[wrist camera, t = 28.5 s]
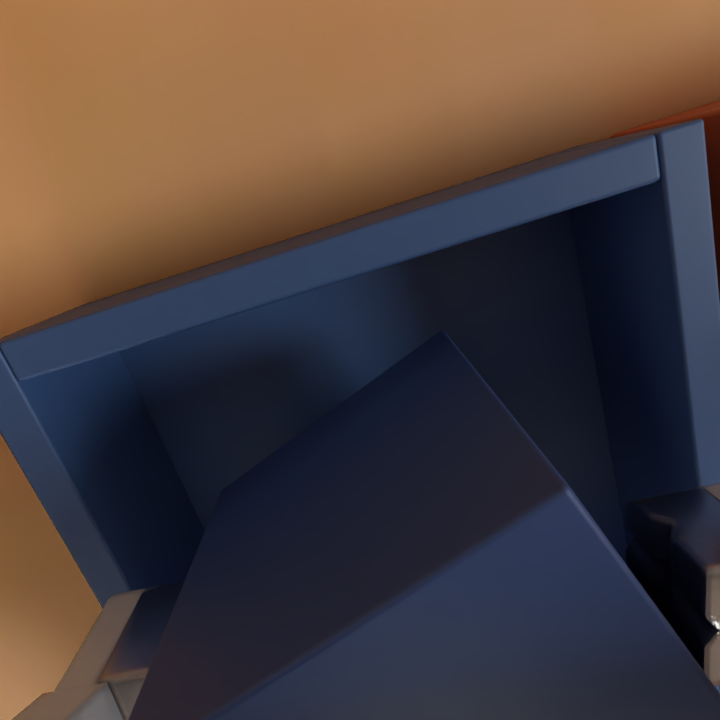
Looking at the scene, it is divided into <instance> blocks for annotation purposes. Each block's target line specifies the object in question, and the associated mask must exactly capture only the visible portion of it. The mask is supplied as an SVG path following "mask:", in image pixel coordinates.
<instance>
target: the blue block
mask: <svg viewBox="0 0 720 720" xmlns="http://www.w3.org/2000/svg"><path fill="white" fill-rule="evenodd" d="M128 720H720V693H719V691H718V690H717V689H716V687H715V686H714V685H713V683H712V682H711V680H710V679H709V678H708V676H707V675H706V674H705V672H704V671H703V669H702V668H701V667H700V665H699V664H698V663H697V661H696V660H695V658H694V657H693V656H692V654H691V653H690V652H689V650H688V649H687V647H686V646H685V645H684V643H683V642H682V640H681V639H680V638H679V636H678V635H677V634H676V632H675V631H674V629H673V628H672V627H671V625H670V624H669V623H668V621H667V620H666V618H665V617H664V616H663V614H662V613H661V612H660V610H659V609H658V607H657V606H656V605H655V603H654V602H653V601H652V599H651V598H650V596H649V595H648V594H647V592H646V591H645V589H644V588H643V587H642V585H641V584H640V583H639V581H638V580H637V578H636V577H635V576H634V574H633V573H632V572H631V570H630V569H629V567H628V566H627V565H626V563H625V562H624V561H623V559H622V558H621V556H620V555H619V554H618V552H617V551H616V550H615V548H614V547H613V545H612V544H611V543H610V541H609V540H608V538H607V537H606V536H605V534H604V533H603V532H602V530H601V529H600V527H599V526H598V525H597V523H596V522H595V521H594V519H593V518H592V516H591V515H590V514H589V512H588V511H587V510H586V508H585V507H584V505H583V504H582V503H581V501H580V500H579V498H578V497H577V496H576V494H575V493H574V492H573V490H572V489H571V487H570V486H569V485H568V484H567V482H566V481H565V480H564V479H563V478H562V476H561V475H560V474H559V473H558V471H557V470H556V469H555V468H554V466H553V465H552V464H551V463H550V461H549V460H548V459H547V458H546V456H545V455H544V454H543V453H542V451H541V450H540V449H539V448H538V446H537V445H536V444H535V443H534V441H533V440H532V439H531V438H530V436H529V435H528V434H527V433H526V432H525V430H524V429H523V428H522V427H521V425H520V424H519V423H518V422H517V420H516V419H515V418H514V417H513V415H512V414H511V413H510V412H509V410H508V409H507V408H506V407H505V405H504V404H503V403H502V402H501V400H500V399H499V398H498V397H497V395H496V394H495V393H494V392H493V391H492V389H491V388H490V387H489V386H488V384H487V383H486V382H485V381H484V379H483V378H482V377H481V376H480V374H479V373H478V372H477V371H476V369H475V368H474V367H473V366H472V364H471V363H470V362H469V361H468V359H467V358H466V357H465V356H464V354H463V353H462V352H461V351H460V350H459V348H458V347H457V346H456V345H455V343H454V342H453V341H452V340H451V338H450V337H449V336H448V335H447V333H446V332H445V331H440V332H438V333H437V334H435V335H434V336H433V337H431V338H430V339H429V340H427V341H426V342H424V343H423V344H422V345H420V346H419V347H418V348H416V349H415V350H413V351H412V352H411V353H409V354H408V355H407V356H405V357H404V358H402V359H401V360H400V361H398V362H397V363H396V364H394V365H393V366H391V367H390V368H389V369H387V370H386V371H385V372H383V373H382V374H381V375H379V376H378V377H376V378H375V379H374V380H372V381H371V382H370V383H368V384H367V385H365V386H364V387H363V388H361V389H360V390H359V391H357V392H356V393H354V394H353V395H352V396H350V397H349V398H348V399H346V400H345V401H343V402H342V403H341V404H339V405H338V406H337V407H335V408H334V409H332V410H331V411H330V412H328V413H327V414H326V415H324V416H323V417H321V418H320V419H319V420H317V421H316V422H315V423H313V424H312V425H310V426H309V427H308V428H306V429H305V430H304V431H302V432H301V433H299V434H298V435H297V436H295V437H294V438H293V439H291V440H290V441H289V442H287V443H286V444H284V445H283V446H282V447H280V448H279V449H278V450H276V451H275V452H273V453H272V454H271V455H269V456H268V457H267V458H265V459H264V460H262V461H261V462H260V463H258V464H257V465H256V466H254V467H253V468H251V469H250V470H249V471H247V472H246V473H245V474H243V475H242V476H240V477H239V478H238V479H236V480H235V481H234V482H232V483H231V484H229V485H228V486H227V487H225V488H224V489H223V490H222V491H221V493H220V495H219V498H218V500H217V503H216V505H215V508H214V510H213V513H212V515H211V518H210V520H209V523H208V525H207V527H206V530H205V532H204V535H203V537H202V540H201V542H200V545H199V547H198V550H197V552H196V554H195V557H194V559H193V562H192V564H191V567H190V569H189V572H188V574H187V577H186V579H185V582H184V584H183V586H182V589H181V591H180V594H179V596H178V599H177V601H176V604H175V606H174V609H173V611H172V613H171V616H170V618H169V621H168V623H167V626H166V628H165V631H164V633H163V636H162V638H161V641H160V643H159V645H158V648H157V650H156V653H155V655H154V658H153V660H152V663H151V665H150V668H149V670H148V672H147V675H146V677H145V680H144V682H143V685H142V687H141V690H140V692H139V695H138V697H137V700H136V702H135V704H134V707H133V709H132V712H131V714H130V717H129V719H128Z"/></svg>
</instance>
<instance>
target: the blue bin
mask: <svg viewBox="0 0 720 720" xmlns="http://www.w3.org/2000/svg"><path fill="white" fill-rule="evenodd" d="M440 331H445V332H446V333H447V335H448V336H449V337H450V338H451V340H452V341H453V342H454V343H455V345H456V346H457V347H458V348H459V350H460V351H461V352H462V353H463V354H464V356H465V357H466V358H467V359H468V361H469V362H470V363H471V364H472V366H473V367H474V368H475V369H476V371H477V372H478V373H479V374H480V376H481V377H482V378H483V379H484V381H485V382H486V383H487V384H488V386H489V387H490V388H491V389H492V391H493V392H494V393H495V394H496V395H497V397H498V398H499V399H500V400H501V402H502V403H503V404H504V405H505V407H506V408H507V409H508V410H509V412H510V413H511V414H512V415H513V417H514V418H515V419H516V420H517V422H518V423H519V424H520V425H521V427H522V428H523V429H524V430H525V432H526V433H527V434H528V435H529V436H530V438H531V439H532V440H533V441H534V443H535V444H536V445H537V446H538V448H539V449H540V450H541V451H542V453H543V454H544V455H545V456H546V458H547V459H548V460H549V461H550V463H551V464H552V465H553V466H554V468H555V469H556V470H557V471H558V473H559V474H560V475H561V476H562V478H563V479H564V480H565V481H566V482H567V484H568V485H569V486H570V487H571V489H572V490H573V492H574V493H575V494H576V496H577V497H578V498H579V500H580V501H581V503H582V504H583V505H584V507H585V508H586V510H587V511H588V512H589V514H590V515H591V516H592V518H593V519H594V521H595V522H596V523H597V525H598V526H599V527H600V529H601V530H602V532H603V533H604V534H605V536H606V537H607V538H608V540H609V541H610V543H611V544H612V545H613V547H614V548H615V550H616V551H617V552H618V554H619V555H620V556H621V558H622V559H623V561H624V562H625V563H626V551H625V550H626V549H627V547H628V546H629V544H630V543H631V542H632V540H633V539H634V536H633V535H632V533H631V532H630V531H629V530H628V529H627V528H626V526H625V517H624V511H625V508H626V505H627V502H628V501H633V500H639V499H644V498H649V497H654V496H660V495H665V494H670V493H676V492H681V491H686V490H692V489H695V488H696V487H701V486H705V485H710V484H715V483H719V482H720V301H719V289H718V278H717V267H716V255H715V244H714V233H713V221H712V210H711V199H710V187H709V176H708V165H707V153H706V142H705V131H704V122H703V120H702V119H695V120H691V121H686V122H682V123H677V124H673V125H668V126H664V127H660V128H655V129H651V130H646V131H642V132H637V133H633V134H629V135H624V136H620V137H615V138H611V139H606V140H602V141H598V142H593V143H589V144H584V145H580V146H576V147H573V148H570V149H567V150H564V151H560V152H557V153H554V154H551V155H548V156H545V157H542V158H539V159H536V160H532V161H529V162H526V163H523V164H520V165H517V166H514V167H511V168H507V169H504V170H501V171H498V172H495V173H492V174H489V175H486V176H483V177H479V178H476V179H473V180H470V181H467V182H464V183H461V184H458V185H455V186H451V187H448V188H445V189H442V190H439V191H436V192H433V193H430V194H427V195H423V196H420V197H417V198H414V199H411V200H408V201H405V202H402V203H399V204H395V205H392V206H389V207H386V208H383V209H380V210H377V211H374V212H371V213H367V214H364V215H361V216H358V217H355V218H352V219H349V220H346V221H342V222H339V223H336V224H333V225H330V226H327V227H324V228H321V229H318V230H314V231H311V232H308V233H305V234H302V235H299V236H296V237H293V238H290V239H286V240H283V241H280V242H277V243H274V244H271V245H268V246H265V247H262V248H258V249H255V250H252V251H249V252H246V253H243V254H240V255H237V256H234V257H230V258H227V259H224V260H221V261H218V262H215V263H212V264H209V265H206V266H202V267H199V268H196V269H193V270H190V271H187V272H184V273H181V274H177V275H174V276H171V277H168V278H165V279H162V280H159V281H156V282H153V283H149V284H146V285H143V286H140V287H137V288H134V289H131V290H128V291H125V292H121V293H118V294H115V295H112V296H109V297H106V298H103V299H100V300H97V301H93V302H90V303H87V304H84V305H81V306H79V307H76V308H74V309H72V310H69V311H66V312H64V313H61V314H59V315H57V316H54V317H52V318H49V319H47V320H44V321H42V322H40V323H37V324H35V325H32V326H30V327H27V328H25V329H22V330H20V331H18V332H15V333H13V334H10V335H8V336H5V337H3V338H0V433H1V435H2V436H3V438H4V440H5V442H6V443H7V445H8V447H9V448H10V450H11V452H12V454H13V455H14V457H15V459H16V460H17V462H18V464H19V466H20V467H21V469H22V471H23V472H24V474H25V476H26V478H27V479H28V481H29V483H30V484H31V486H32V488H33V490H34V491H35V493H36V495H37V496H38V498H39V500H40V502H41V503H42V505H43V507H44V508H45V510H46V512H47V514H48V515H49V517H50V519H51V520H52V522H53V524H54V526H55V527H56V529H57V531H58V532H59V534H60V536H61V538H62V539H63V541H64V543H65V544H66V546H67V548H68V550H69V551H70V553H71V555H72V556H73V558H74V560H75V562H76V563H77V565H78V567H79V568H80V570H81V572H82V574H83V575H84V577H85V579H86V580H87V582H88V584H89V586H90V587H91V589H92V591H93V592H94V594H95V596H96V598H97V599H98V601H99V603H100V604H101V606H102V608H104V606H105V604H106V602H107V601H108V599H109V598H111V597H112V596H114V595H116V594H117V593H122V592H127V591H133V590H139V589H148V588H150V587H155V586H162V585H168V584H174V583H180V582H185V579H186V577H187V574H188V572H189V569H190V567H191V564H192V562H193V559H194V557H195V554H196V552H197V550H198V547H199V545H200V542H201V540H202V537H203V535H204V532H205V530H206V527H207V525H208V523H209V520H210V518H211V515H212V513H213V510H214V508H215V505H216V503H217V500H218V498H219V495H220V493H221V491H222V490H223V489H224V488H225V487H227V486H228V485H229V484H231V483H232V482H234V481H235V480H236V479H238V478H239V477H240V476H242V475H243V474H245V473H246V472H247V471H249V470H250V469H251V468H253V467H254V466H256V465H257V464H258V463H260V462H261V461H262V460H264V459H265V458H267V457H268V456H269V455H271V454H272V453H273V452H275V451H276V450H278V449H279V448H280V447H282V446H283V445H284V444H286V443H287V442H289V441H290V440H291V439H293V438H294V437H295V436H297V435H298V434H299V433H301V432H302V431H304V430H305V429H306V428H308V427H309V426H310V425H312V424H313V423H315V422H316V421H317V420H319V419H320V418H321V417H323V416H324V415H326V414H327V413H328V412H330V411H331V410H332V409H334V408H335V407H337V406H338V405H339V404H341V403H342V402H343V401H345V400H346V399H348V398H349V397H350V396H352V395H353V394H354V393H356V392H357V391H359V390H360V389H361V388H363V387H364V386H365V385H367V384H368V383H370V382H371V381H372V380H374V379H375V378H376V377H378V376H379V375H381V374H382V373H383V372H385V371H386V370H387V369H389V368H390V367H391V366H393V365H394V364H396V363H397V362H398V361H400V360H401V359H402V358H404V357H405V356H407V355H408V354H409V353H411V352H412V351H413V350H415V349H416V348H418V347H419V346H420V345H422V344H423V343H424V342H426V341H427V340H429V339H430V338H431V337H433V336H434V335H435V334H437V333H438V332H440ZM715 687H716V689H717V690H718V691H719V693H720V685H718V686H715Z"/></svg>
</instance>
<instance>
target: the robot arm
mask: <svg viewBox="0 0 720 720" xmlns="http://www.w3.org/2000/svg"><path fill="white" fill-rule="evenodd" d="M624 517H625V526H626V528H627V529H628V530H629V531H630V532H631V533H632V535H633V536H634V539H633V540H632V542H631V543H630V544H629V546H628V547H627V549H626V550H625V551H626V565H627V566H628V567H629V569H630V570H631V572H632V573H633V574H634V576H635V577H636V578H637V580H638V581H639V583H640V584H641V585H642V587H643V588H644V589H645V591H646V592H647V594H648V595H649V596H650V598H651V599H652V601H653V602H654V603H655V605H656V606H657V607H658V609H659V610H660V612H661V613H662V614H663V616H664V617H665V618H666V620H667V621H668V623H669V624H670V625H671V627H672V628H673V629H674V631H675V632H676V634H677V635H678V636H679V638H680V639H681V640H682V642H683V643H684V645H685V646H686V647H687V649H688V650H689V652H690V653H691V654H692V656H693V657H694V658H695V660H696V661H697V663H698V664H699V665H700V667H701V668H702V669H703V671H704V672H705V674H706V675H707V676H708V678H709V679H710V680H711V682H712V683H713V685H714V686H718V685H720V482H719V483H715V484H710V485H705V486H701V487H696V488H695V489H692V490H686V491H681V492H676V493H670V494H665V495H660V496H654V497H649V498H644V499H639V500H633V501H628V502H627V505H626V508H625V511H624ZM183 584H184V582H180V583H174V584H168V585H162V586H155V587H150V588H148V589H139V590H133V591H127V592H122V593H117V594H116V595H114V596H112V597H111V598H109V599H108V601H107V602H106V604H105V606H104V608H103V609H102V611H101V613H100V614H99V616H98V618H97V620H96V621H95V623H94V625H93V626H92V628H91V630H90V632H89V633H88V635H87V637H86V638H85V640H84V642H83V643H82V645H81V647H80V649H79V650H78V652H77V654H76V655H75V657H74V659H73V661H72V662H71V664H70V666H69V667H68V669H67V671H66V673H65V674H64V676H63V678H62V679H61V681H60V683H59V684H58V686H57V688H56V690H55V691H54V692H49V693H44V694H42V695H41V696H40V697H38V698H37V699H36V700H35V701H34V702H32V703H31V704H30V705H29V706H28V707H26V708H25V709H24V710H23V711H22V712H20V713H19V714H18V715H17V716H16V717H14V718H13V719H12V720H128V719H129V717H130V714H131V712H132V709H133V707H134V704H135V702H136V700H137V697H138V695H139V692H140V690H141V687H142V685H143V682H144V680H145V677H146V675H147V672H148V670H149V668H150V665H151V663H152V660H153V658H154V655H155V653H156V650H157V648H158V645H159V643H160V641H161V638H162V636H163V633H164V631H165V628H166V626H167V623H168V621H169V618H170V616H171V613H172V611H173V609H174V606H175V604H176V601H177V599H178V596H179V594H180V591H181V589H182V586H183Z"/></svg>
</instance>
